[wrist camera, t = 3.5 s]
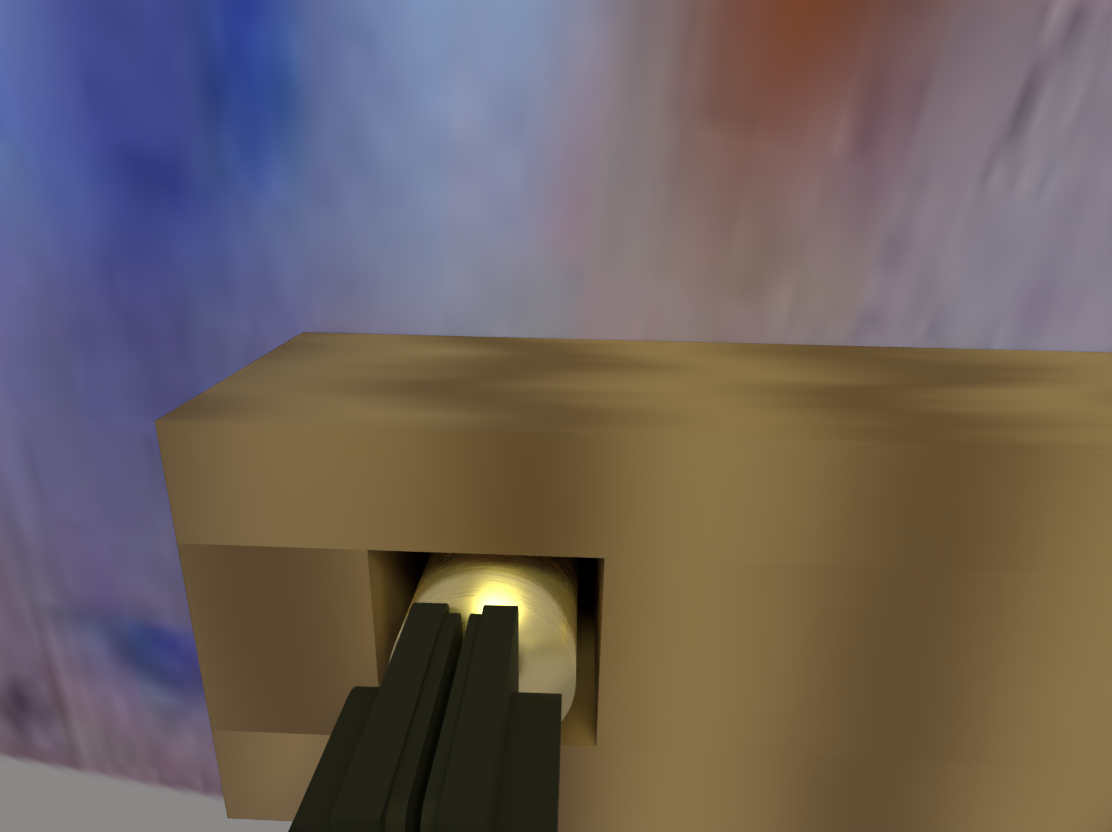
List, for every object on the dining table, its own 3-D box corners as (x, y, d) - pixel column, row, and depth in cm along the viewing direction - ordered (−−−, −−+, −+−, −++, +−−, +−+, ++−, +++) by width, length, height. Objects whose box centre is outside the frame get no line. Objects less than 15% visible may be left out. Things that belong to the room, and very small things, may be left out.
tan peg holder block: (1378, 359, 16) (1824, 469, 10) (1253, 659, 18) (1549, 880, 13) (302, 332, 16) (154, 421, 11) (333, 624, 19) (227, 817, 14)
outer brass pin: (581, 451, 16) (578, 603, 11) (577, 564, 17) (573, 756, 12) (451, 448, 17) (383, 596, 11) (455, 560, 18) (393, 749, 12)
